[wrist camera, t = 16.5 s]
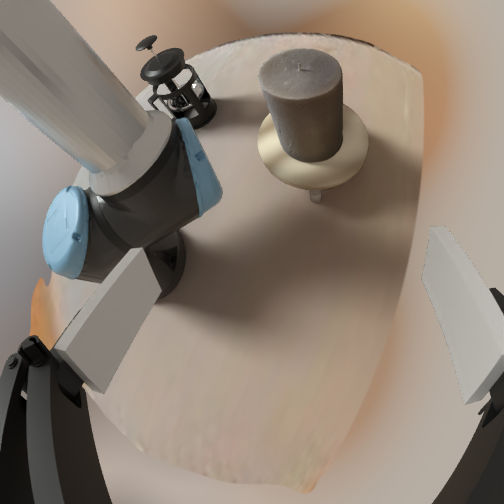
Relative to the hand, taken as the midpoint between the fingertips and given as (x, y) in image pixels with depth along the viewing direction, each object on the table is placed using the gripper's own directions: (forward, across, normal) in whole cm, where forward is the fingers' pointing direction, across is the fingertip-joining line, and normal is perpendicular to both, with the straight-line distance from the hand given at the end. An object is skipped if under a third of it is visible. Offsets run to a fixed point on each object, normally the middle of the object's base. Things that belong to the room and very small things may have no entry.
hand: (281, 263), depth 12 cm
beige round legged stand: (+39, +2, -6) cm, 39 cm away
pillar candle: (+33, +2, -1) cm, 33 cm away
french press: (+50, -22, +5) cm, 55 cm away
